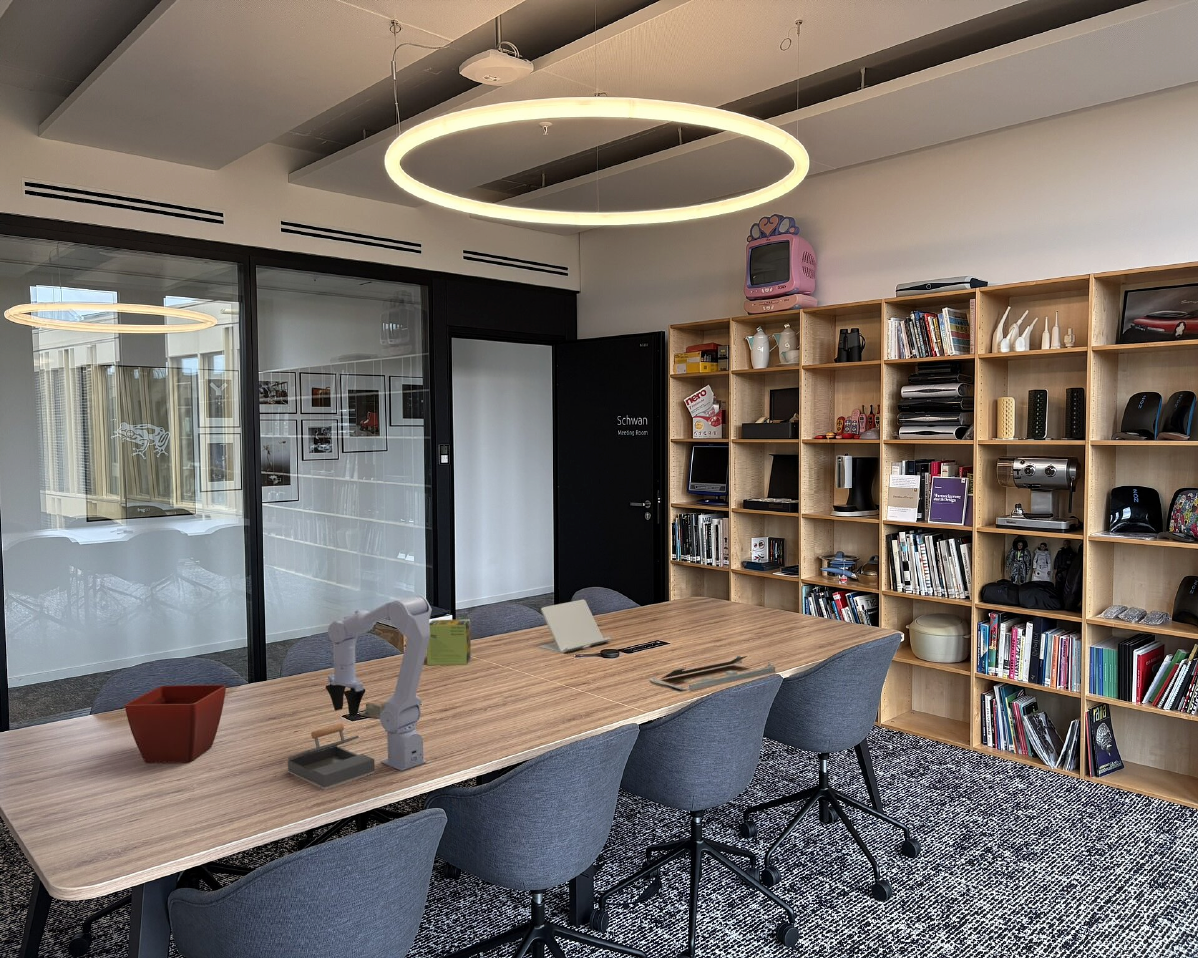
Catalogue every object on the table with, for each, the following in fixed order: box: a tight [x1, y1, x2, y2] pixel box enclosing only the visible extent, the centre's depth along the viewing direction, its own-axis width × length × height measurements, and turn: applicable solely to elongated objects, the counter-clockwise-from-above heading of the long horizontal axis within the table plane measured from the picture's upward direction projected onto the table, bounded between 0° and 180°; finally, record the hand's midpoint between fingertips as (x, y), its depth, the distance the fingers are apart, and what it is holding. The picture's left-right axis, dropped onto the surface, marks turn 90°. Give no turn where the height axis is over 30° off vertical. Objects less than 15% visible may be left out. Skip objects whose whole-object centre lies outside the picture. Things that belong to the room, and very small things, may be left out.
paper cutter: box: [649, 655, 776, 691], centre depth 308 cm, size 18×45×6 cm, turn 123°
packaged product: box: [359, 692, 423, 720], centre depth 276 cm, size 18×5×10 cm
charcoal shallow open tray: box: [287, 745, 376, 791], centre depth 224 cm, size 18×14×4 cm
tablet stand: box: [538, 599, 611, 654], centre depth 360 cm, size 18×25×17 cm
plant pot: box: [124, 684, 227, 764], centre depth 238 cm, size 19×19×17 cm
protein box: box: [426, 618, 472, 666], centre depth 336 cm, size 10×15×16 cm
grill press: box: [287, 723, 359, 761], centre depth 226 cm, size 12×14×5 cm
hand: (346, 712), depth 240 cm, fingers open, 7 cm apart
